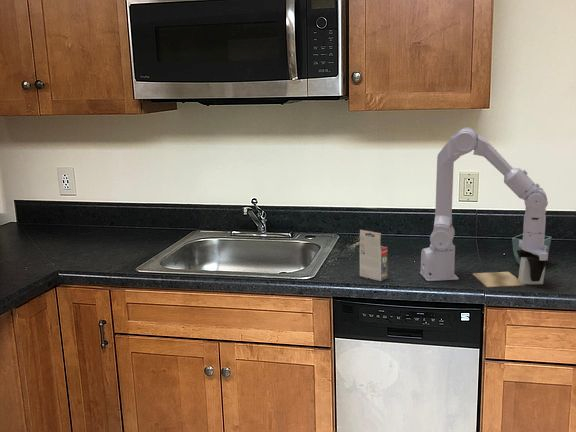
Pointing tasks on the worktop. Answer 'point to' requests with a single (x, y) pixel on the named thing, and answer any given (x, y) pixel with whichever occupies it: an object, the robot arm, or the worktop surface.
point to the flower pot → (516, 247)
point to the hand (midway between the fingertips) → (531, 277)
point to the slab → (527, 273)
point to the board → (498, 279)
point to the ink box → (372, 256)
